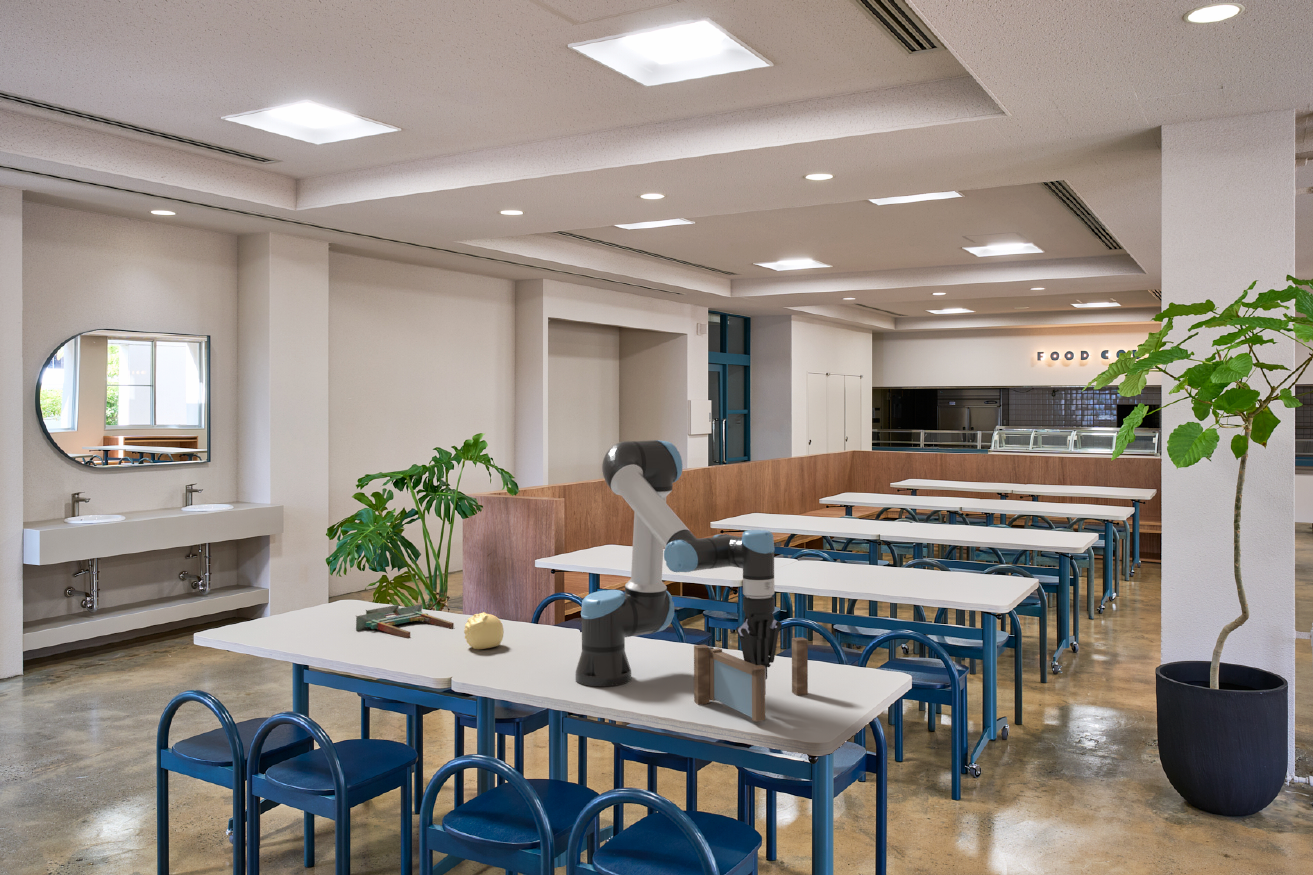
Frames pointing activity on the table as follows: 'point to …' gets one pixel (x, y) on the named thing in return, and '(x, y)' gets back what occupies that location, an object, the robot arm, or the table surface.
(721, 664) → the gate leaf
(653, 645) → the table surface
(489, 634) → the sculpture
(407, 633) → the miniature gate
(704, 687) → the gate posts
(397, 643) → the table surface
